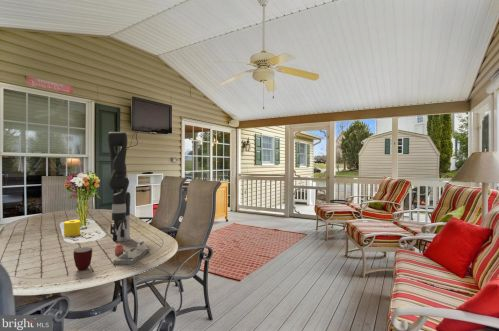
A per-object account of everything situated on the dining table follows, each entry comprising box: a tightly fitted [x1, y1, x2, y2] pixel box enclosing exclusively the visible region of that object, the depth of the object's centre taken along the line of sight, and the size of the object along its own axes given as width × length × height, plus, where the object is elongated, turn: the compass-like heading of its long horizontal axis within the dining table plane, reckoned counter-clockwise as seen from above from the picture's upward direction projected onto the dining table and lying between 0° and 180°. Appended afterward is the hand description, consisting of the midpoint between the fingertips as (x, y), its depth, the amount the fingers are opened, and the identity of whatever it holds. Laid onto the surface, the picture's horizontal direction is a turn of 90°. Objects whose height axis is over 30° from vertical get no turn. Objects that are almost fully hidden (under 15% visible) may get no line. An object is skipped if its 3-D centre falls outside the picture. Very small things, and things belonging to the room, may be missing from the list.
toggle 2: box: [136, 240, 147, 251], centre depth 163 cm, size 4×3×4 cm
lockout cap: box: [114, 243, 124, 257], centre depth 162 cm, size 4×4×6 cm
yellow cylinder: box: [63, 219, 81, 237], centre depth 202 cm, size 10×10×9 cm
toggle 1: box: [128, 247, 138, 258], centre depth 151 cm, size 4×3×4 cm
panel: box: [113, 246, 149, 266], centre depth 157 cm, size 10×22×3 cm, turn 178°
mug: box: [73, 246, 93, 272], centre depth 140 cm, size 11×8×10 cm
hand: (118, 239), depth 161 cm, fingers open, 8 cm apart
